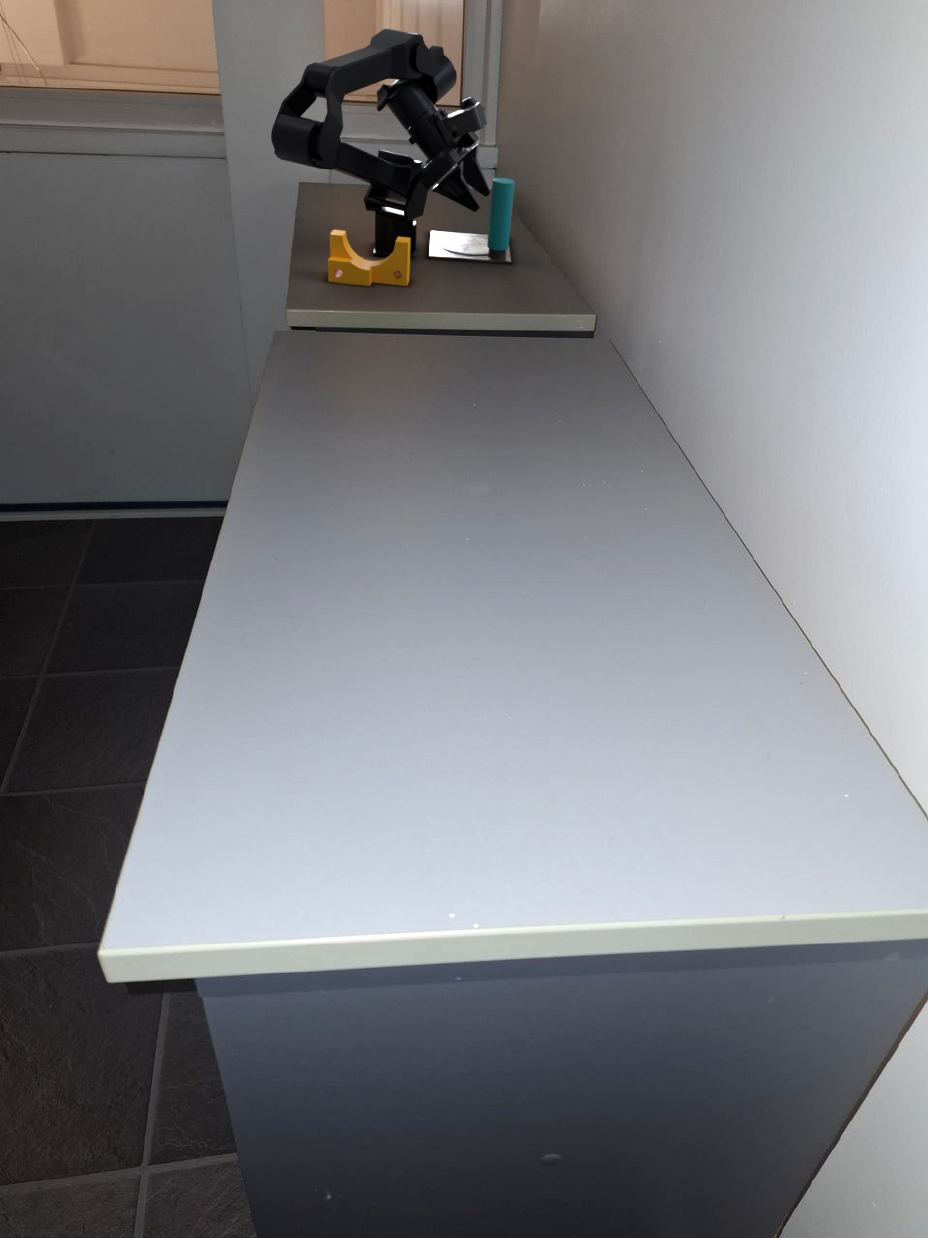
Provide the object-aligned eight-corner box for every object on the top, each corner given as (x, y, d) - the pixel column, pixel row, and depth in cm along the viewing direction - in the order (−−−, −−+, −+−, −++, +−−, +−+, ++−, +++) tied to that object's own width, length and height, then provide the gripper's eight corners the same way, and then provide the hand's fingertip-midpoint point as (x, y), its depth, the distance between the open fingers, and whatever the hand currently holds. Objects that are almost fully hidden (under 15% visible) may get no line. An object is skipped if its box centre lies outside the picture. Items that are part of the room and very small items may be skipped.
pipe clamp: (328, 281, 132) (327, 237, 128) (334, 272, 136) (333, 229, 132) (405, 289, 132) (406, 246, 128) (409, 280, 135) (410, 237, 131)
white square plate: (428, 258, 144) (428, 254, 144) (430, 232, 155) (430, 229, 155) (511, 263, 145) (511, 260, 145) (507, 238, 156) (507, 235, 155)
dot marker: (495, 261, 144) (502, 184, 136) (482, 255, 146) (488, 178, 139) (511, 258, 146) (519, 181, 138) (498, 252, 148) (505, 176, 140)
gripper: (443, 90, 123) (511, 183, 129) (470, 70, 137) (529, 155, 143) (390, 144, 129) (457, 231, 135) (421, 120, 143) (480, 199, 149)
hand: (483, 202), depth 141 cm, fingers open, 9 cm apart
